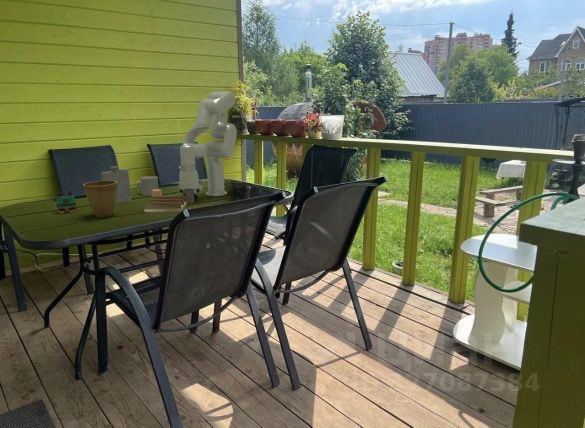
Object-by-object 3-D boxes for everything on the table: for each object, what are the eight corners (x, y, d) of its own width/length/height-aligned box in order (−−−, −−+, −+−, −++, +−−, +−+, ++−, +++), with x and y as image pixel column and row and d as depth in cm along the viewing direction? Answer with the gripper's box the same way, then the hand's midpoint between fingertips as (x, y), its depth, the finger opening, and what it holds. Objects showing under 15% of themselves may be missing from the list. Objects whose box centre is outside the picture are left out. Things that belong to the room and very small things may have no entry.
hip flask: (106, 205, 233) (102, 168, 228) (102, 204, 235) (98, 167, 230) (132, 200, 245) (129, 165, 241) (128, 199, 248) (124, 164, 243)
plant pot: (95, 212, 219) (92, 180, 215) (125, 212, 218) (122, 180, 215) (81, 219, 204) (76, 185, 201) (112, 219, 204) (108, 185, 200)
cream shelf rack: (153, 204, 235) (152, 196, 234) (187, 203, 236) (186, 195, 235) (144, 212, 217) (143, 203, 216) (181, 211, 218) (180, 202, 217)
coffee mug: (162, 192, 267) (161, 176, 265) (152, 195, 258) (150, 179, 256) (144, 191, 272) (142, 175, 269) (133, 194, 263) (131, 178, 260)
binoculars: (74, 189, 225) (74, 191, 216) (76, 210, 227) (77, 212, 218) (54, 191, 221) (54, 192, 212) (57, 212, 223) (57, 214, 214)
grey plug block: (187, 201, 242) (186, 188, 241) (195, 201, 243) (194, 188, 241) (185, 202, 239) (185, 190, 237) (194, 202, 239) (193, 190, 237)
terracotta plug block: (154, 202, 241) (153, 189, 240) (162, 201, 242) (161, 189, 240) (152, 203, 238) (151, 190, 236) (160, 203, 238) (159, 190, 236)
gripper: (171, 169, 232) (173, 202, 236) (203, 168, 233) (205, 202, 237) (174, 167, 239) (176, 200, 244) (205, 166, 240) (206, 199, 245)
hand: (190, 200), depth 240 cm, fingers closed on grey plug block, 4 cm apart
